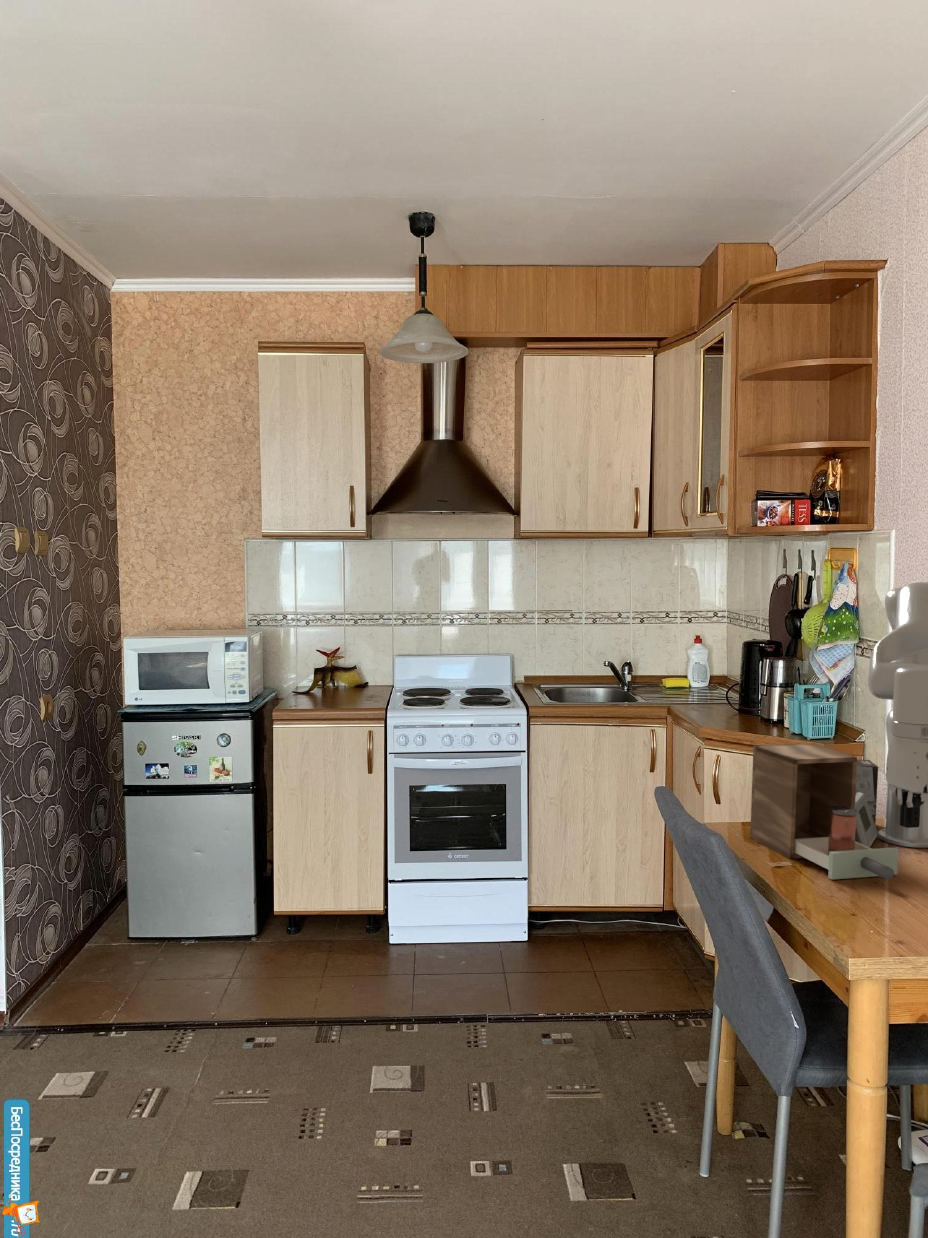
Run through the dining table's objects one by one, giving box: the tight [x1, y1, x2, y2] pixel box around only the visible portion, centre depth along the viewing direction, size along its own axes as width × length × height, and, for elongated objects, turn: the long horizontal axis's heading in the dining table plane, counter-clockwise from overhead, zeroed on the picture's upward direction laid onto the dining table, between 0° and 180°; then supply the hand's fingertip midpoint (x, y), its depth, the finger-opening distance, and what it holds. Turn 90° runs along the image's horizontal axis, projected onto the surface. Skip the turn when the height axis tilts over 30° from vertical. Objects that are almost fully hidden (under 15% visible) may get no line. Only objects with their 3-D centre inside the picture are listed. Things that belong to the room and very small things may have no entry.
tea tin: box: [828, 806, 857, 855], centre depth 198 cm, size 5×5×10 cm
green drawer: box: [794, 837, 899, 881], centre depth 195 cm, size 16×23×5 cm
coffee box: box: [856, 758, 879, 825], centre depth 229 cm, size 9×6×16 cm
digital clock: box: [855, 792, 879, 848], centre depth 215 cm, size 16×9×11 cm, turn 137°
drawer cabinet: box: [749, 743, 858, 860], centre depth 211 cm, size 16×16×22 cm
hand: (909, 826), depth 177 cm, fingers closed
